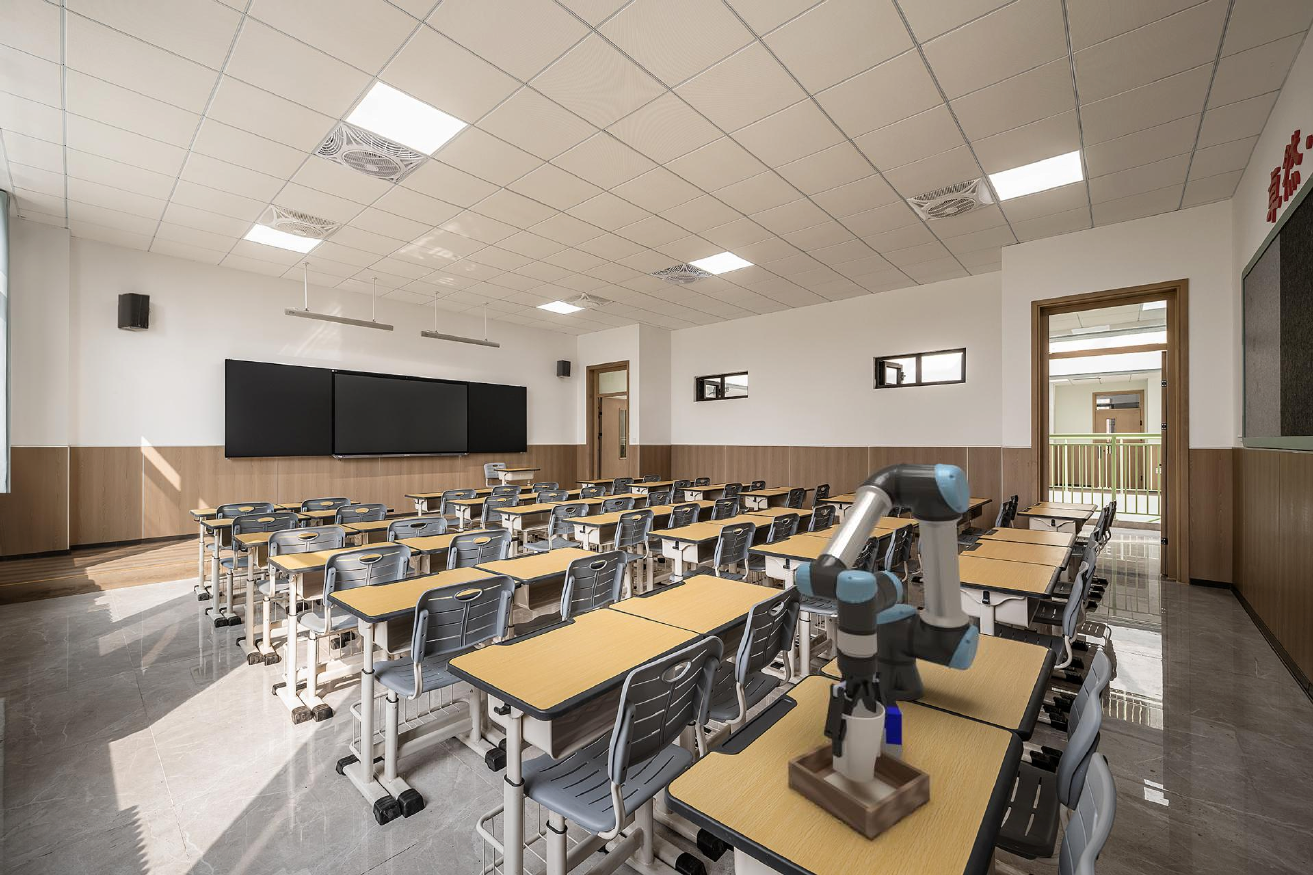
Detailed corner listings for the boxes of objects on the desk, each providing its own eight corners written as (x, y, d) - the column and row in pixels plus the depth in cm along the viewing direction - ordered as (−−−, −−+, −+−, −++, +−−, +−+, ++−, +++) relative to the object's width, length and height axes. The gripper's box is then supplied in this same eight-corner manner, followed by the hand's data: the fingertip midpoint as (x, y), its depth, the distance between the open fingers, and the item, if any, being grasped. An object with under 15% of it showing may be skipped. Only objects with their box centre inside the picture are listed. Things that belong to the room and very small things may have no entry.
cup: (880, 796, 103) (879, 724, 103) (823, 778, 109) (823, 710, 109) (889, 768, 112) (889, 701, 112) (837, 753, 118) (836, 689, 118)
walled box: (847, 754, 124) (846, 732, 124) (929, 800, 108) (929, 774, 108) (788, 785, 113) (788, 760, 113) (870, 840, 97) (870, 812, 97)
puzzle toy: (902, 760, 122) (901, 714, 122) (854, 755, 124) (854, 710, 124) (892, 736, 132) (892, 694, 132) (848, 731, 134) (847, 690, 134)
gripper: (874, 633, 120) (874, 736, 120) (803, 657, 107) (804, 772, 107) (906, 644, 114) (907, 752, 114) (836, 670, 101) (836, 792, 101)
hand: (857, 762), depth 111 cm, fingers closed on cup, 10 cm apart
